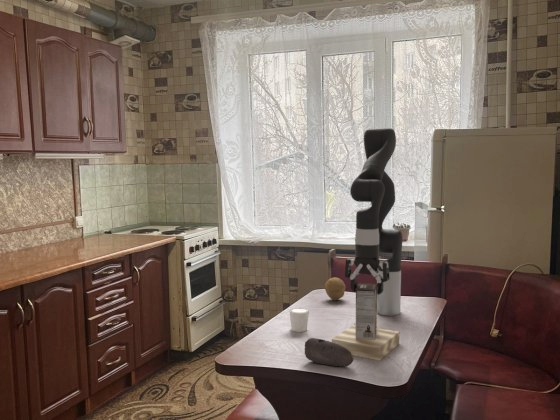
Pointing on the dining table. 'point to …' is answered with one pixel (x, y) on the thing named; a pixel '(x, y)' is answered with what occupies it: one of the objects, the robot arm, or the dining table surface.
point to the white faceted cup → (299, 319)
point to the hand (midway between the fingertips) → (366, 292)
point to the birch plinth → (368, 343)
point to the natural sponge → (335, 288)
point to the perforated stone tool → (327, 352)
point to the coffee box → (366, 311)
